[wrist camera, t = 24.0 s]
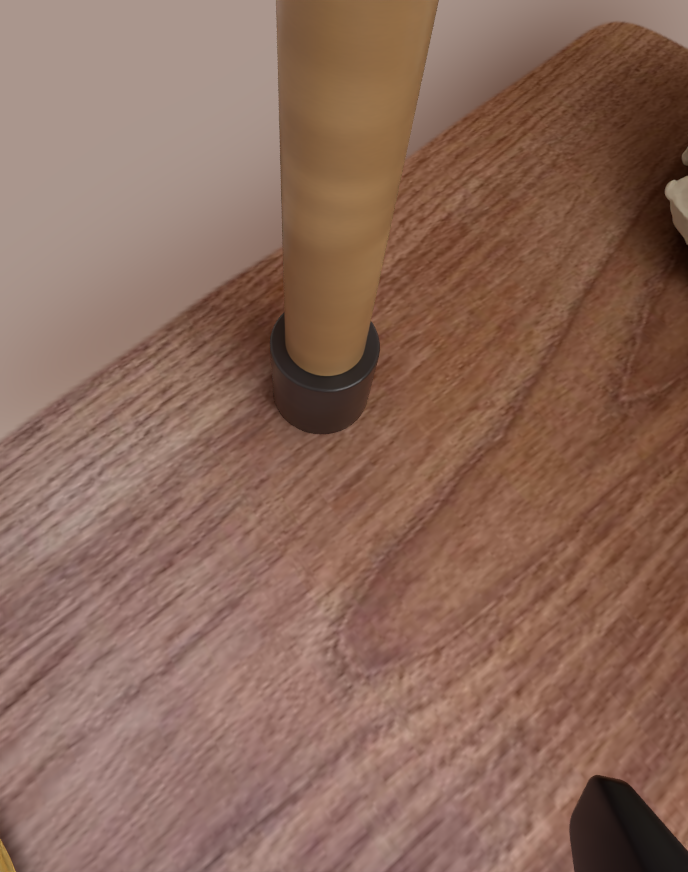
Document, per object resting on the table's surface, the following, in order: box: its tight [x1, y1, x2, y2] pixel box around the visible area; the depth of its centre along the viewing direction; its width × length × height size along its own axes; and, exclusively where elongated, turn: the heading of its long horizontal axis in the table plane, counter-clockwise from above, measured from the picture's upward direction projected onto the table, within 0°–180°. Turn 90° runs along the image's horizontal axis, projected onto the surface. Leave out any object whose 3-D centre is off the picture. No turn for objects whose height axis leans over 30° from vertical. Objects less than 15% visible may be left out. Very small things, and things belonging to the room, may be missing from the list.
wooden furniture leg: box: [270, 0, 439, 434], centre depth 15 cm, size 4×4×15 cm
